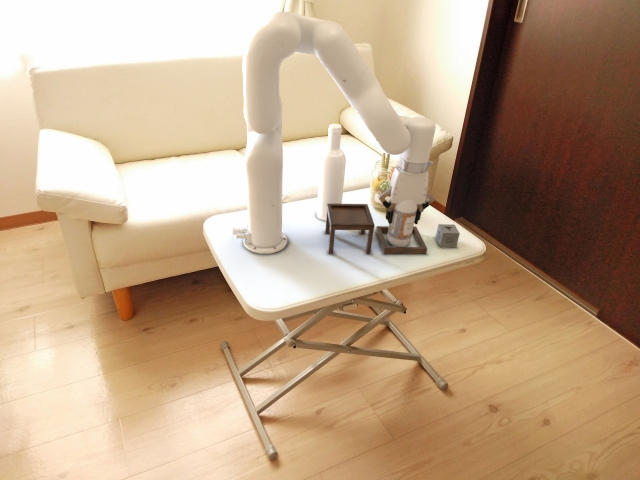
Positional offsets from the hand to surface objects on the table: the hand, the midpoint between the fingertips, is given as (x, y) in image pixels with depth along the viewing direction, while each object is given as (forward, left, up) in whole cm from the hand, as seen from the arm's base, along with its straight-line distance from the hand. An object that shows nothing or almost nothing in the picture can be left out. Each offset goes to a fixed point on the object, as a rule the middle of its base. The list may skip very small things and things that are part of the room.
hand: (402, 221), depth 131 cm
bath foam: (0, 0, -7) cm, 7 cm away
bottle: (-19, +16, -8) cm, 26 cm away
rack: (-7, 0, -7) cm, 11 cm away
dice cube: (+15, 0, -8) cm, 16 cm away
